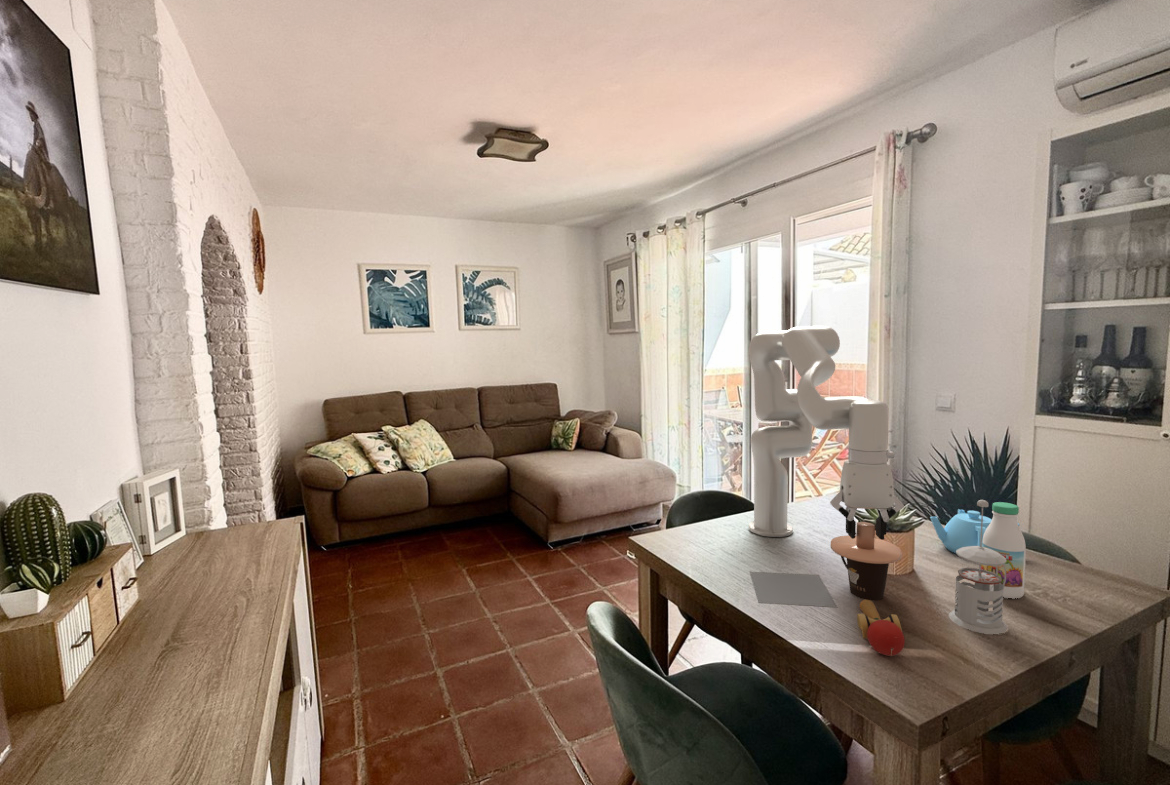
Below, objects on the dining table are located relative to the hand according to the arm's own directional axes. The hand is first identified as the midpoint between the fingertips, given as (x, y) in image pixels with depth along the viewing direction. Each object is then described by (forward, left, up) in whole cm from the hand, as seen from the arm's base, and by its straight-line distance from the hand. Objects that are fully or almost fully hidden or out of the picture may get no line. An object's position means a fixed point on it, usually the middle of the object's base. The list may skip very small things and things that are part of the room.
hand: (865, 536), depth 119 cm
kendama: (+17, -3, -14) cm, 22 cm away
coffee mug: (0, 0, -14) cm, 14 cm away
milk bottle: (-5, +30, -14) cm, 33 cm away
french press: (+9, +19, -14) cm, 25 cm away
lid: (0, 0, -3) cm, 3 cm away
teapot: (-30, +36, -14) cm, 49 cm away
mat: (+1, -16, -13) cm, 21 cm away
